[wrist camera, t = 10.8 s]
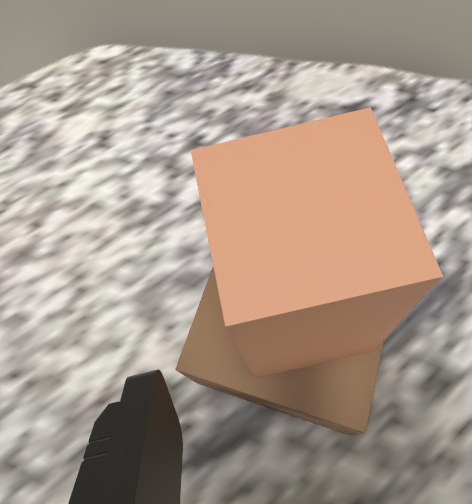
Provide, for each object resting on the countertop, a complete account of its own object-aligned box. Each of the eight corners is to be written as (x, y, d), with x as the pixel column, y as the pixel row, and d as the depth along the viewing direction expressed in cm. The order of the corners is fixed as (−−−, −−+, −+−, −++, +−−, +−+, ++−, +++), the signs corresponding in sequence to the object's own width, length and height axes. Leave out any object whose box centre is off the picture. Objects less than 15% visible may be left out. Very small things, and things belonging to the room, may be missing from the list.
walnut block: (197, 383, 23) (175, 369, 19) (243, 249, 26) (234, 209, 21) (349, 434, 21) (365, 432, 17) (381, 285, 24) (402, 249, 20)
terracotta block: (254, 378, 18) (225, 326, 10) (231, 268, 20) (190, 150, 12) (372, 351, 18) (443, 276, 10) (337, 244, 20) (370, 107, 12)
